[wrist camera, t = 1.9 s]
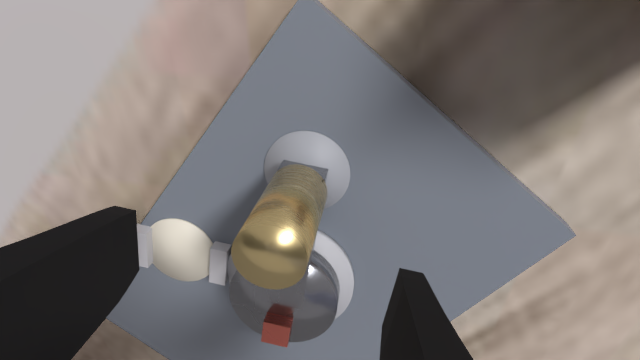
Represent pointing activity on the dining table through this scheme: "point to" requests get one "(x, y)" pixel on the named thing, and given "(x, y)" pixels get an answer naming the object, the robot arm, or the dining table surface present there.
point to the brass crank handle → (285, 260)
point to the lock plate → (331, 202)
